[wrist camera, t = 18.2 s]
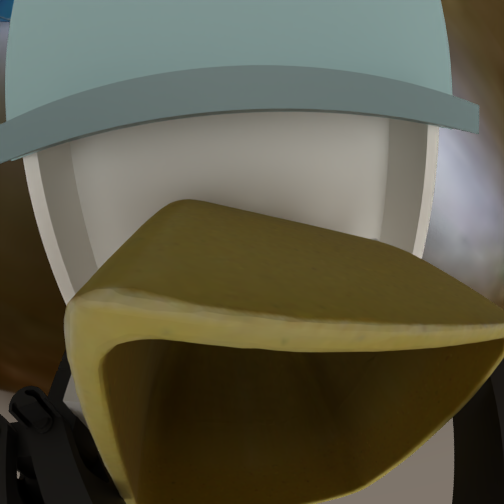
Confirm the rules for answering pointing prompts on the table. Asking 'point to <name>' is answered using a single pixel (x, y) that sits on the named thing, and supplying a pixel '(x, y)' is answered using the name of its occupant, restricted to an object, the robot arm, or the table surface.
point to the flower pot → (268, 358)
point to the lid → (220, 64)
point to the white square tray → (233, 180)
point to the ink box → (6, 10)
